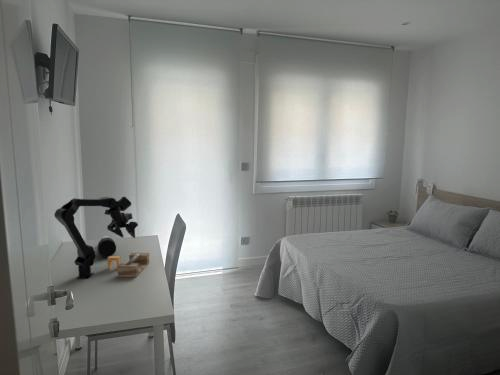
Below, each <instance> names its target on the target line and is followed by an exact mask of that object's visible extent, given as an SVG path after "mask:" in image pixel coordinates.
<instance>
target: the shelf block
mask: <svg viewBox="0 0 500 375" xmlns="http://www.w3.org/2000/svg"><path fill="white" fill-rule="evenodd" d="M128 260H129V261H128V262H124V263H123V262H121V263H120V264H119V265H118V266H117V265H116V270H117V278H137V277H138V276H139V275H140V274H141V273H142V272H143V271H144V270H145V269H146V267H148V265H149V264H150V252H130V253H129V255H128Z"/></svg>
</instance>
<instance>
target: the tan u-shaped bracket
mask: <svg viewBox="0 0 500 375" xmlns="http://www.w3.org/2000/svg"><path fill="white" fill-rule="evenodd" d="M106 258H107V269H108V270H111V269H112V268H113V261H115V262H116V267H117V266H118V265H119V264H120V263H122V262H121V256H120V255H112V256H109V257H106Z"/></svg>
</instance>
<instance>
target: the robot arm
mask: <svg viewBox="0 0 500 375" xmlns="http://www.w3.org/2000/svg"><path fill="white" fill-rule="evenodd" d="M131 206H132V202H131V201H130V200H129V199H128V197H126V196H122V197H121V198H120V199H119V200H116V198H114V197H109V196H104V197H100V198H76V197H75V198H72V199H70V200H69V201H68V202H66V203H65V204H63V205H62V206H61V207H59V208H58V209H56V210H55V212H54V217H55V219H56V220H57V221H58V222H59V223H60V224H61V225H62V226H63V227H64V228H65V230H66V231H67V233H68V236H69V237H70V238H71V240H72V242H73V244H74V245H75V247H76V252H77V253H76V254H77V258H76V259H75V260H74V261H73V262H74V264H75V265H76V266H78V269H77V270H78V276H76V277H75V278H76V279H89V278H91V277H92V276H93V275H94V274H95V273H94V272H92V267H91V266H93V265H94V262H95V259H96V257H97V255H96V251H95V250H94V247H93V246H92V245H88V244H87V243H86V242H85V240H84V238H83V236H82V234H81V232H80V231H79V229H78V227H77V226H76V223H75V216H74V215H75V214H76V213H77V211H79V210H78V209H79V208H80V207H102V208H108V209H105V212H104V215H107V216H109V217H110V218H111V219H112V220H111V222H110V223H109V224H108V225H107V227H106V228H107V230H108V231H110V232H112V233H113V234H115V235H118V236H119V237H121V238H124V234H123V232H122V230H121V229H122V228H124V229H125V231H126V232H127V234H129V235H130V237H131V238H133V239H135V238H136V228H137V227H138V226H139V224H138V222H137V221H130V220H133V219H134V218H133V214H132V213H131V212H130V213H129V212H127V213H125V211H126V210H127V209H129V207H131ZM129 221H130V222H129Z"/></svg>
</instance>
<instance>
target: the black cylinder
mask: <svg viewBox="0 0 500 375" xmlns="http://www.w3.org/2000/svg"><path fill="white" fill-rule="evenodd" d="M97 251H98V253H99V255H100V256H101V257H104V258H108V257H109V256H114V254H115V253H116V251H117V245H116V242H115V241H114V239H112V238H110V237H109V236H106V235H104V236H103V237H101V238H100V240H99V242H98V244H97Z"/></svg>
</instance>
